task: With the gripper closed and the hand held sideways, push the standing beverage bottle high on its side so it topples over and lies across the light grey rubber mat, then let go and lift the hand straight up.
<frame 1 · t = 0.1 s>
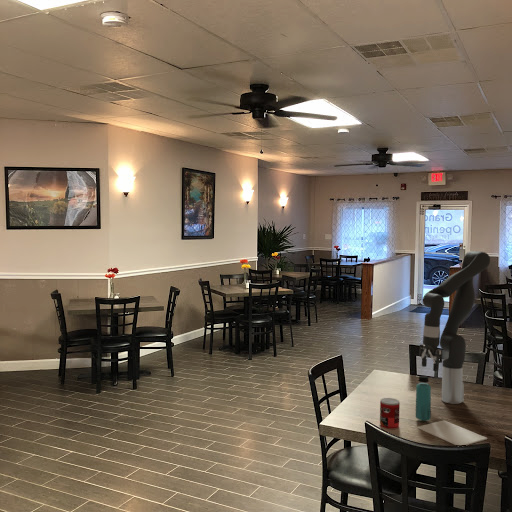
hand: (429, 368, 254), 17 cm above the table, tool pointing down, fingers open, 8 cm apart
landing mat: (451, 433, 219), on the table
canned food: (389, 426, 227), on the table
beverage bottle: (422, 421, 232), on the table
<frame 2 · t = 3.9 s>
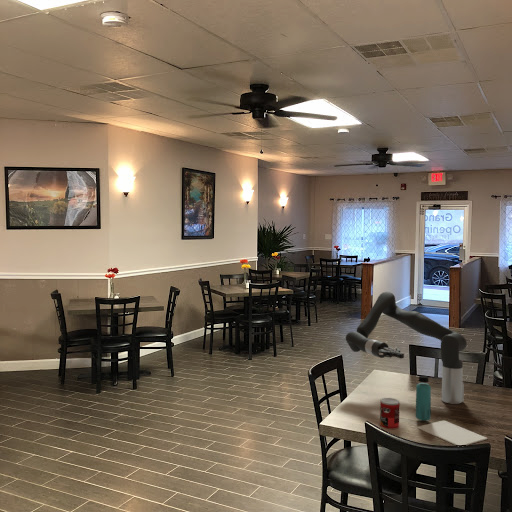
hand: (402, 356, 242), 26 cm above the table, tool horizontal, fingers closed
nothing on the table moved.
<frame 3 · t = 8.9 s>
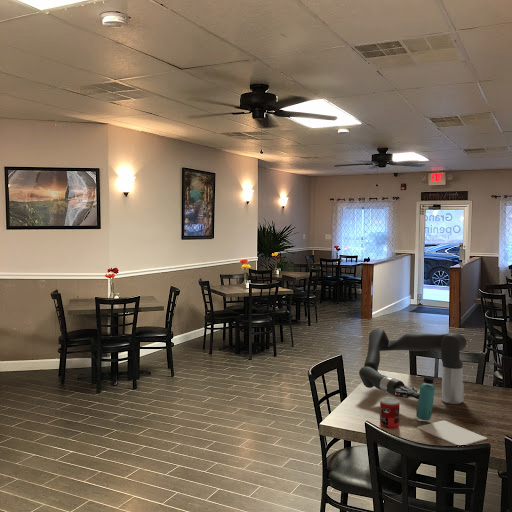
hand: (420, 397, 233), 10 cm above the table, tool horizontal, fingers closed
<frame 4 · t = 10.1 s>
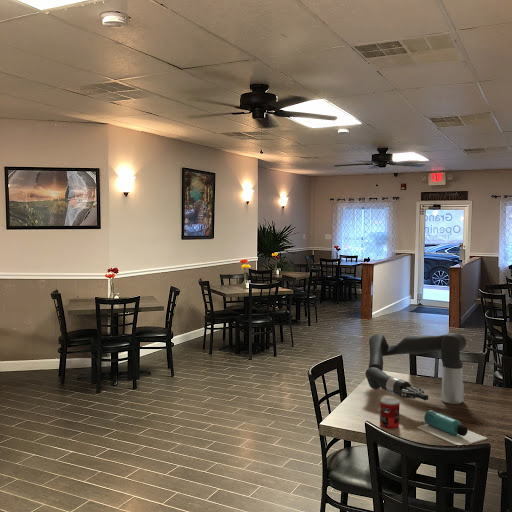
hand: (427, 398, 230), 11 cm above the table, tool horizontal, fingers closed
beverage bottle: (426, 415, 229), point 4 cm above the table, touching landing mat
everything else where it was.
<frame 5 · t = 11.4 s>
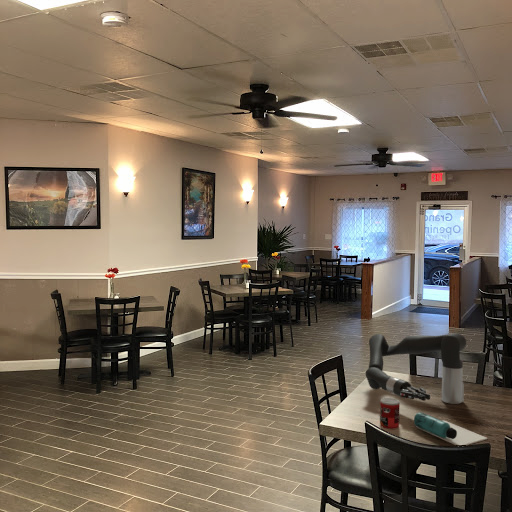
hand: (427, 397, 230), 11 cm above the table, tool horizontal, fingers closed
beverage bottle: (415, 418, 226), point 4 cm above the table, touching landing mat
everything else where it was.
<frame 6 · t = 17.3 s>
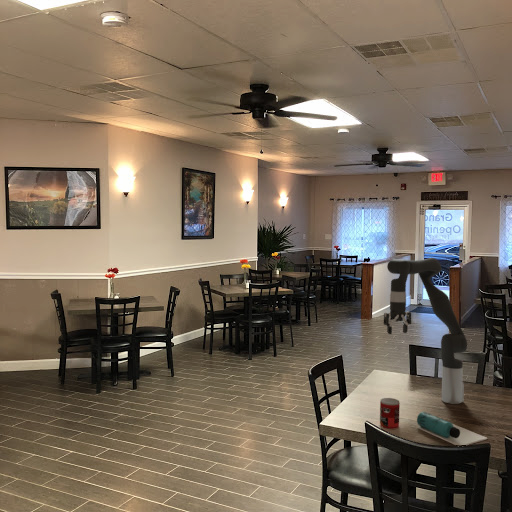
hand: (397, 333, 258), 33 cm above the table, tool pointing down, fingers open, 8 cm apart
beverage bottle: (418, 417, 227), point 4 cm above the table, touching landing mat
everything else where it was.
at the end: beverage bottle tilted 90°; beverage bottle touching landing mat; canned food moved 0.2 cm from its start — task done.
